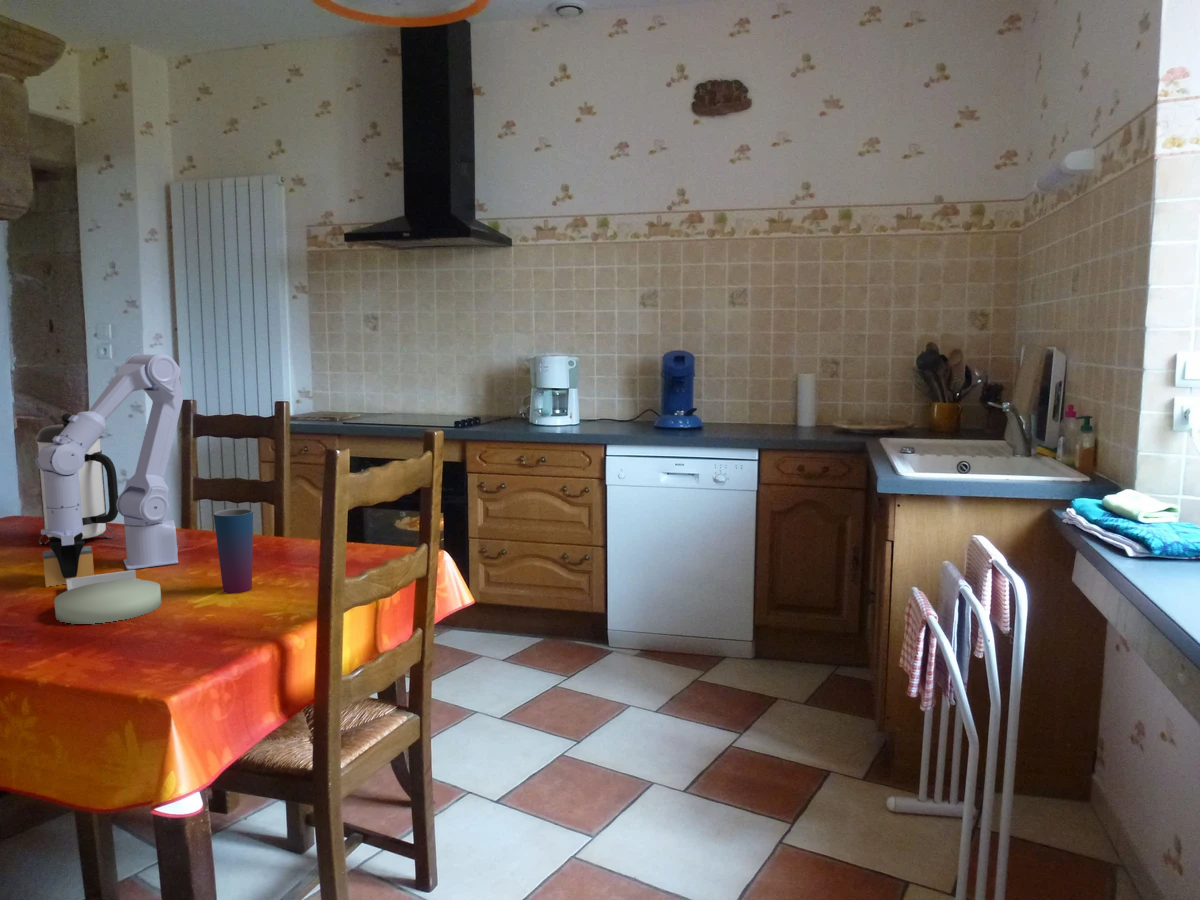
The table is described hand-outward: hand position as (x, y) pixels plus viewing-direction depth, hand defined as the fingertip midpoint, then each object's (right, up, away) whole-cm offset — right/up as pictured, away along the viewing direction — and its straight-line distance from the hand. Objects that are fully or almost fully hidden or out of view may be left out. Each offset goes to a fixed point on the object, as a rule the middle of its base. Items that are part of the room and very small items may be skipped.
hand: (69, 574), depth 163 cm
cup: (+35, -2, -5) cm, 35 cm away
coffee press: (-17, +3, +32) cm, 36 cm away
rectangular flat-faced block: (0, -1, 0) cm, 1 cm away
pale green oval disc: (+15, -3, -13) cm, 20 cm away
